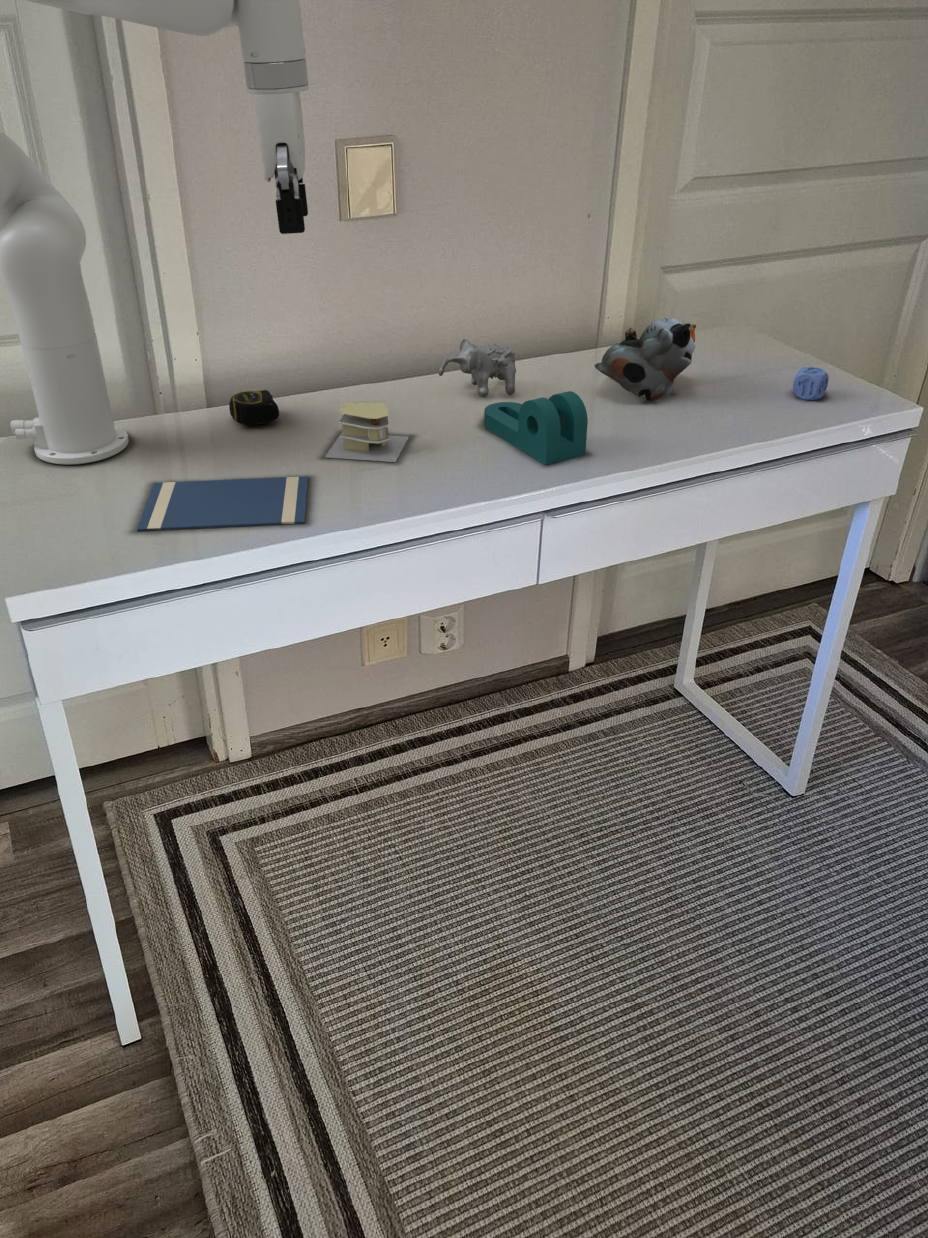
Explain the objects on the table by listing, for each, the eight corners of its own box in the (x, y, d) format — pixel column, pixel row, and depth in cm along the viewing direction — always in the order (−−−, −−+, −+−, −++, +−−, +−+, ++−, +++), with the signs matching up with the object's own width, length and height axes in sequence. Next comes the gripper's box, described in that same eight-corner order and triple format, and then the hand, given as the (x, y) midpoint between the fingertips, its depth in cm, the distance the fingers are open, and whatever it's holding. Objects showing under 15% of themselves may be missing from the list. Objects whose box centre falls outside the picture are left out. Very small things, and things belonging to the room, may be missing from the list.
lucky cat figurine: (613, 368, 171) (660, 293, 165) (670, 409, 168) (721, 335, 162) (580, 369, 158) (631, 287, 152) (642, 413, 155) (696, 332, 149)
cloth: (137, 531, 123) (136, 528, 123) (154, 484, 134) (153, 482, 134) (304, 523, 125) (304, 521, 125) (308, 478, 136) (308, 475, 136)
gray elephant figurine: (527, 394, 162) (528, 346, 158) (461, 408, 157) (461, 359, 153) (496, 376, 168) (497, 330, 164) (432, 390, 163) (431, 342, 159)
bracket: (585, 454, 142) (589, 399, 138) (545, 464, 139) (547, 409, 135) (513, 413, 155) (514, 362, 151) (475, 421, 152) (475, 370, 148)
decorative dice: (790, 396, 160) (795, 371, 158) (802, 389, 163) (806, 364, 161) (815, 402, 158) (819, 377, 156) (826, 395, 161) (830, 370, 159)
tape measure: (281, 426, 151) (278, 402, 149) (234, 431, 149) (231, 407, 147) (274, 410, 156) (271, 386, 154) (228, 415, 155) (225, 391, 153)
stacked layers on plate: (324, 457, 141) (321, 419, 138) (341, 432, 149) (339, 396, 146) (395, 462, 140) (393, 424, 137) (409, 436, 147) (407, 400, 144)
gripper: (251, 71, 132) (270, 211, 142) (238, 86, 118) (260, 241, 127) (310, 69, 133) (325, 208, 142) (304, 83, 118) (321, 237, 127)
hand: (294, 224), depth 135 cm, fingers open, 9 cm apart
